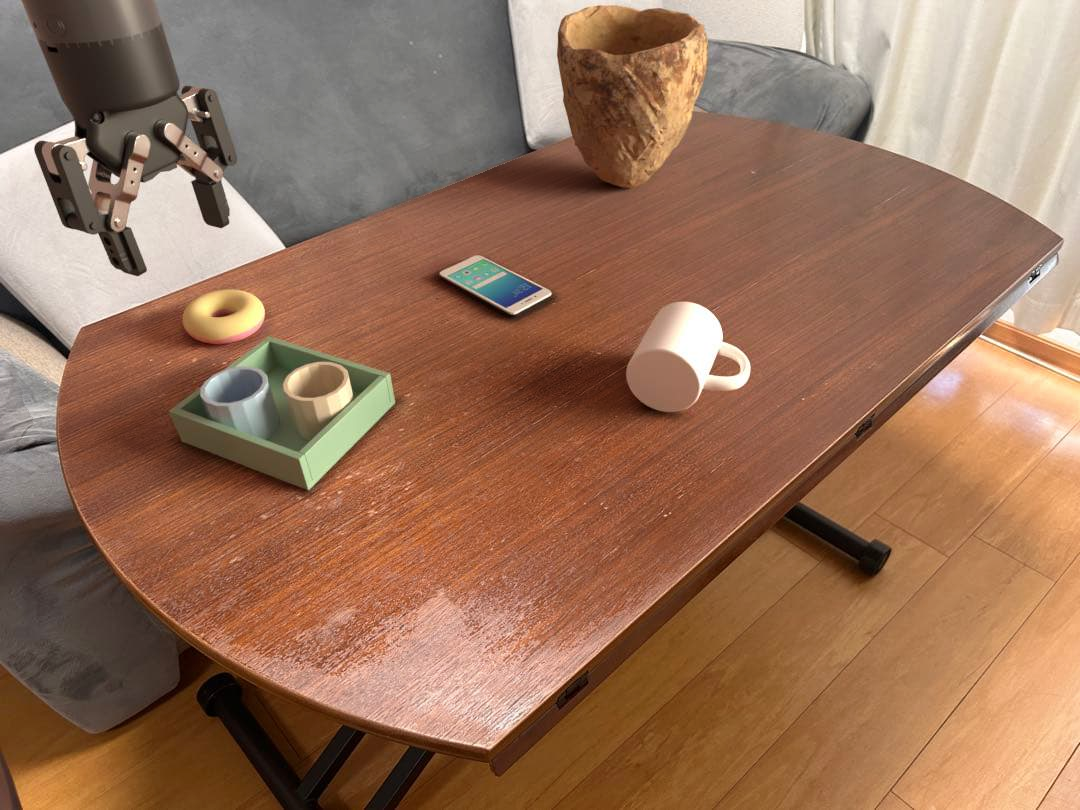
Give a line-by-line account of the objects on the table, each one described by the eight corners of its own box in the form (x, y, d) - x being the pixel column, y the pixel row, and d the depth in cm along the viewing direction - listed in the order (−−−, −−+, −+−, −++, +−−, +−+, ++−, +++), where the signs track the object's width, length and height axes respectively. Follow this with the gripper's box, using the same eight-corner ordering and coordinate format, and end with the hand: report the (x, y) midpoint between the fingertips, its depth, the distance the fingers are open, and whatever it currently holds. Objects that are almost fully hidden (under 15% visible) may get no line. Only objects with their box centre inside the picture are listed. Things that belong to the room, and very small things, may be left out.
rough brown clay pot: (529, 192, 124) (524, 26, 108) (597, 148, 139) (602, -4, 123) (652, 224, 114) (666, 46, 99) (712, 173, 129) (733, 11, 113)
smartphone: (478, 253, 106) (554, 291, 98) (478, 259, 107) (554, 297, 98) (436, 272, 102) (512, 314, 94) (437, 278, 103) (512, 320, 94)
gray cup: (250, 455, 75) (235, 412, 72) (202, 436, 78) (185, 395, 74) (293, 417, 80) (280, 375, 76) (246, 401, 82) (232, 360, 79)
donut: (219, 370, 91) (284, 328, 95) (206, 343, 88) (274, 302, 92) (176, 329, 95) (239, 291, 100) (161, 302, 92) (228, 264, 96)
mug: (623, 402, 82) (627, 341, 77) (650, 353, 89) (655, 294, 84) (734, 430, 78) (746, 368, 73) (753, 376, 85) (765, 316, 80)
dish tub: (308, 490, 72) (299, 459, 70) (181, 441, 78) (168, 411, 75) (395, 403, 82) (390, 373, 80) (277, 365, 88) (268, 335, 86)
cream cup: (332, 449, 76) (321, 407, 72) (282, 432, 78) (269, 390, 75) (370, 412, 80) (361, 371, 77) (321, 396, 82) (311, 355, 79)
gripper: (144, -4, 55) (209, 204, 66) (-45, 44, 46) (67, 279, 56) (221, 4, 53) (276, 219, 63) (38, 57, 43) (139, 302, 53)
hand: (178, 247), depth 60 cm, fingers open, 8 cm apart
